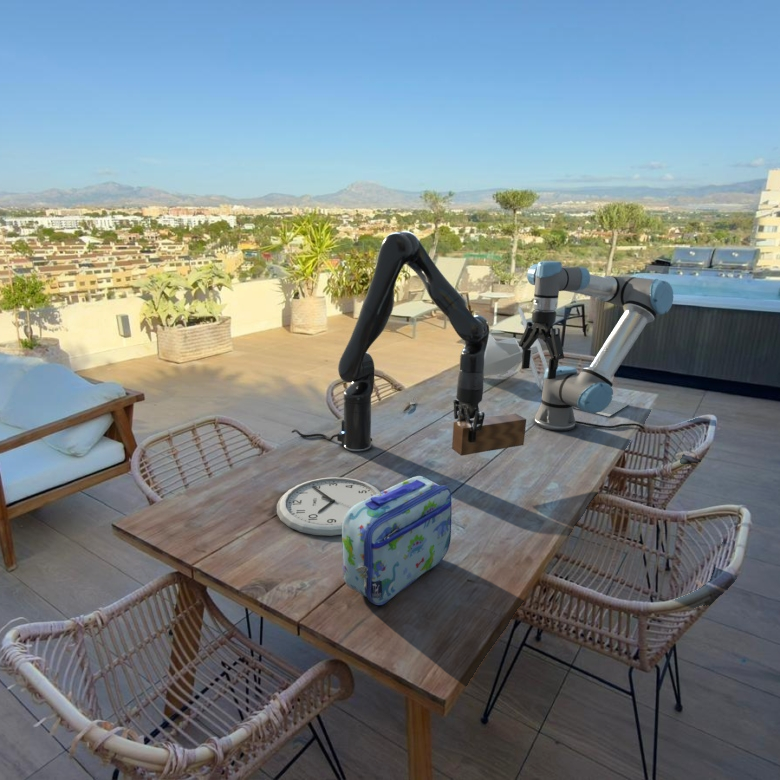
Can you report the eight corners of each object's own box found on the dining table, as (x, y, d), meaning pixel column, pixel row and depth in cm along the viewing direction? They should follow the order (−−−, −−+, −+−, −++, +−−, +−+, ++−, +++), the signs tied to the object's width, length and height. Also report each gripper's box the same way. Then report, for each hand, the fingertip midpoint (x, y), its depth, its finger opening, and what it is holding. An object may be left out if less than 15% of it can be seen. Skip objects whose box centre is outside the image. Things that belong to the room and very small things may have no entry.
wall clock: (392, 527, 129) (268, 531, 127) (391, 533, 130) (269, 537, 127) (383, 473, 158) (282, 475, 155) (383, 478, 158) (282, 480, 156)
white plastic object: (488, 419, 266) (468, 396, 241) (469, 346, 288) (449, 319, 263) (559, 395, 254) (545, 368, 229) (533, 321, 276) (519, 290, 251)
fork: (400, 412, 215) (400, 407, 215) (412, 400, 229) (412, 396, 229) (406, 412, 214) (406, 408, 214) (418, 401, 229) (418, 397, 228)
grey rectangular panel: (608, 416, 214) (573, 407, 224) (608, 416, 214) (573, 408, 224) (628, 404, 229) (594, 396, 238) (628, 405, 229) (594, 397, 238)
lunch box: (371, 618, 102) (371, 524, 95) (336, 591, 109) (334, 502, 103) (455, 562, 119) (460, 479, 113) (420, 542, 126) (423, 463, 120)
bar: (513, 438, 169) (515, 413, 167) (523, 445, 164) (526, 419, 162) (451, 448, 160) (453, 422, 158) (461, 455, 156) (463, 428, 153)
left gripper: (447, 379, 158) (444, 431, 163) (472, 393, 145) (468, 449, 150) (468, 377, 161) (464, 428, 166) (495, 390, 148) (490, 445, 153)
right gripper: (511, 305, 179) (506, 365, 185) (561, 316, 157) (553, 384, 163) (529, 304, 182) (524, 363, 188) (581, 315, 160) (572, 382, 166)
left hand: (466, 437), depth 158 cm, fingers closed on bar, 5 cm apart
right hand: (537, 373), depth 176 cm, fingers open, 13 cm apart
